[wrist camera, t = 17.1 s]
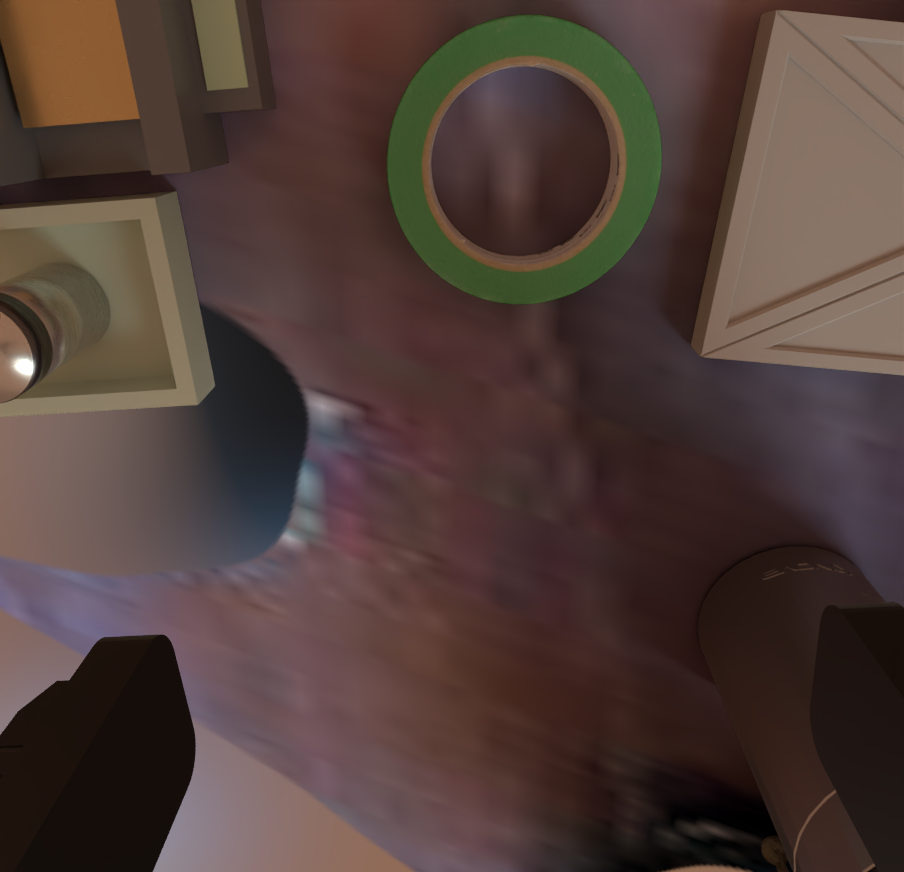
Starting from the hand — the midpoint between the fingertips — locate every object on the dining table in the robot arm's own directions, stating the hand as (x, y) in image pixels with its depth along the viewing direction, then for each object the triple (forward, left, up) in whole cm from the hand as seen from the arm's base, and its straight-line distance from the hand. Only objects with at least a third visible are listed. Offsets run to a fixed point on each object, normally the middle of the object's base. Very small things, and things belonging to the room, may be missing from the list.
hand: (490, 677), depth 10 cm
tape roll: (+4, -2, -29) cm, 29 cm away
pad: (+10, +15, -26) cm, 32 cm away
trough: (0, +20, -28) cm, 34 cm away
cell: (-1, +19, -28) cm, 33 cm away
